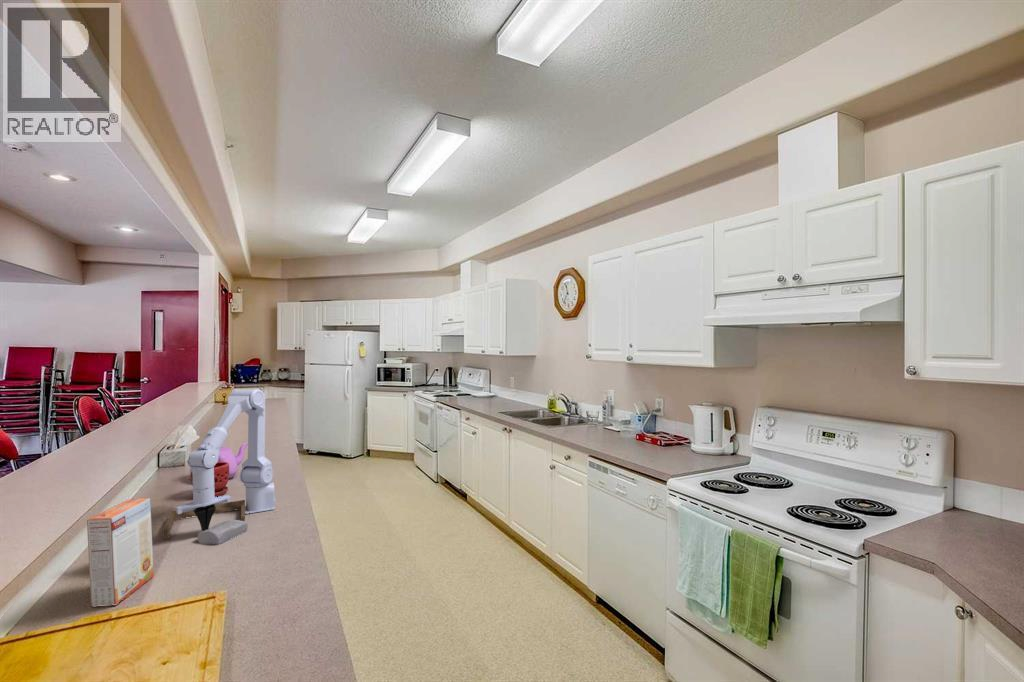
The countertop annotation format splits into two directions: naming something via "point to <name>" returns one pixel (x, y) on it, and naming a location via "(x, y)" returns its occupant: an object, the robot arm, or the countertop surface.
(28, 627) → the countertop surface
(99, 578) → the cracker box
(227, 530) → the stone block
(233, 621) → the countertop surface
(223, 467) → the plant pot
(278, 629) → the countertop surface
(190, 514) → the brown wooden open frame
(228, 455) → the teapot
